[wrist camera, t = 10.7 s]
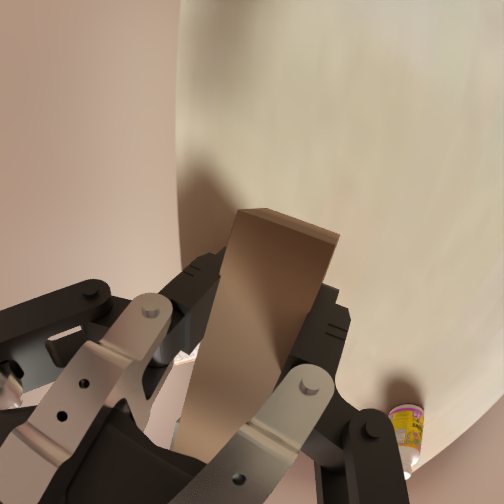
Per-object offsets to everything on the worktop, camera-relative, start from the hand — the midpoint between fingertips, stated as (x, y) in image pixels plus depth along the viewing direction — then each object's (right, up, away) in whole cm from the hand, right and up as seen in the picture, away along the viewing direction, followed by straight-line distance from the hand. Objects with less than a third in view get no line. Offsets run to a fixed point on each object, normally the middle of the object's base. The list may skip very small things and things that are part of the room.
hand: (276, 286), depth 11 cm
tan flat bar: (-2, -6, +2) cm, 7 cm away
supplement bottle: (+26, -27, +31) cm, 48 cm away
